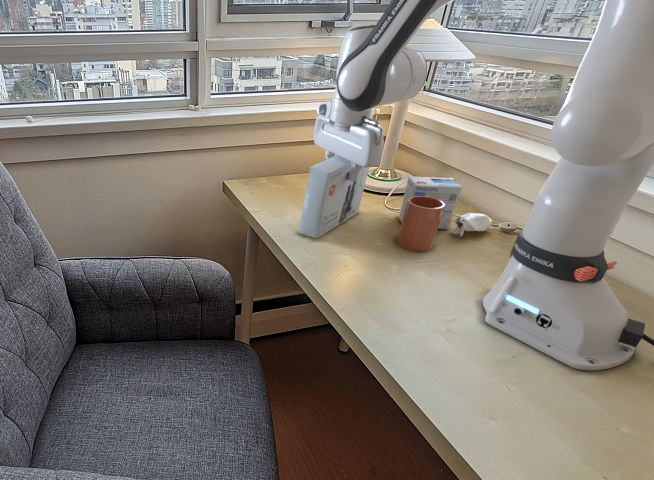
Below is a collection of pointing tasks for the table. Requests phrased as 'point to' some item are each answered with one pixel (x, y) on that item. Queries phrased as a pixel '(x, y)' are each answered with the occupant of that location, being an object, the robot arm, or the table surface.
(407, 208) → the pen cup
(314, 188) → the skincare box
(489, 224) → the bird figurine
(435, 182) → the light bulb box
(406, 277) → the table surface
